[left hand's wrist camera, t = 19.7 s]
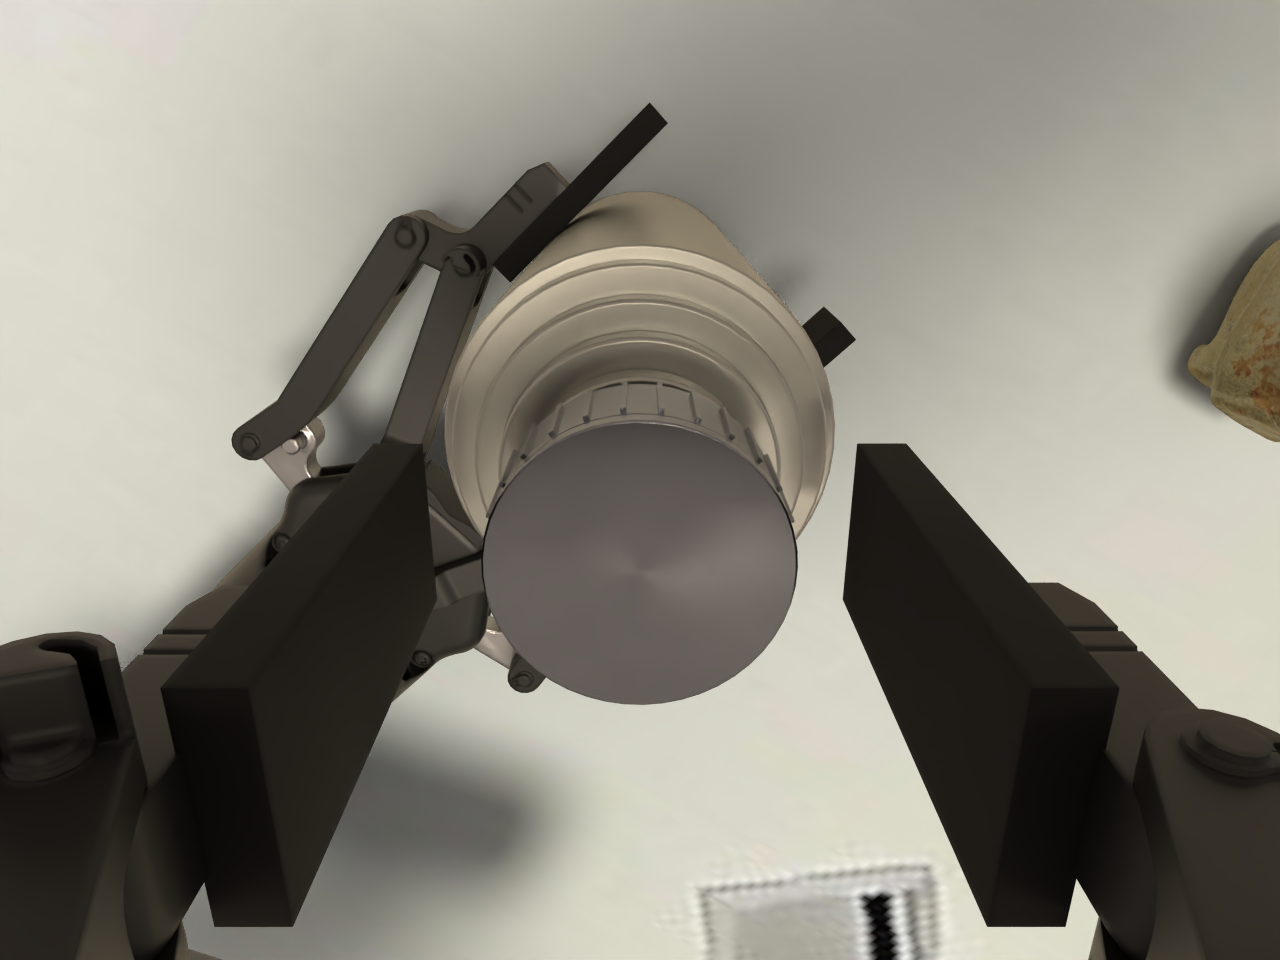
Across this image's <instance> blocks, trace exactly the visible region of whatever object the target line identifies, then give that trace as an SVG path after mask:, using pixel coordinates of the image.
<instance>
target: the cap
mask: <svg viewBox="0 0 1280 960" xmlns="http://www.w3.org/2000/svg"><path fill="white" fill-rule="evenodd" d="M486 518H488V522H487V526H486V529H485V533H484V537H483V543H482V546H481V551H482V552H481V572H482V580H483V586H484V592H485V595H486V598H487V601H488V604H489V608H490V611H491V613H492V615H493V617H494V619H495V621H496V623H497V625H498V627H499V629H500V630H501V632H502V633H503V635H504V636H505V638H506V639H507V641H508V642H509V644H510V645H511V646H512V647H513V648H514V649H515V650H516V652H517V653H518V654H519V655H520V656H521V657H522V658H523V659H524V660H525V661H526V662H527V663H528V664H530V665H531V666H532V667H533V668H534V669H535V670H537V671H538V672H539V673H541V674H542V675H544V676H545V677H547V678H548V679H550V680H551V681H553V682H555V683H557V684H559V685H561V686H562V687H564V688H566V689H568V690H571V691H573V692H576V693H578V694H581V695H584V696H586V697H590V698H594V699H598V700H602V701H606V702H613V703H620V704H636V705H647V704H660V703H667V702H672V701H677V700H682V699H685V698H689V697H692V696H695V695H698V694H701V693H703V692H706V691H708V690H710V689H712V688H715V687H717V686H719V685H721V684H722V683H724V682H726V681H727V680H729V679H731V678H732V677H734V676H735V675H737V674H738V673H739V672H741V671H742V670H743V669H745V668H746V667H747V666H749V665H750V664H751V663H752V662H753V661H754V660H755V659H756V658H757V657H758V656H759V655H760V654H761V653H762V652H763V651H764V649H765V648H766V647H767V646H768V644H769V643H770V642H771V640H772V639H773V638H774V636H775V635H776V633H777V631H778V630H779V628H780V626H781V625H782V623H783V621H784V619H785V617H786V614H787V612H788V610H789V607H790V605H791V602H792V598H793V594H794V590H795V587H796V579H797V570H798V556H797V555H798V551H797V544H796V539H795V533H794V529H793V526H792V523H794V522H795V521H794V517H793V515H792V512H791V510H790V508H789V505H788V503H787V500H786V498H785V495H784V493H783V489H782V486H781V484H780V481H779V479H778V476H777V474H776V471H775V469H774V466H773V464H772V462H771V459H770V457H769V455H768V453H767V454H765V455H764V454H763V452H762V450H761V449H760V447H759V446H758V444H757V443H756V441H755V438H754V436H753V433H752V431H751V429H750V428H749V427H748V428H746V429H745V428H744V427H743V426H742V425H741V424H740V423H739V422H738V421H737V420H735V419H734V418H733V417H732V416H731V415H729V414H728V411H727V408H726V407H724V406H722V407H721V408H719V407H718V406H716V405H715V404H713V403H711V402H710V401H708V400H705V399H703V398H701V397H699V396H697V393H696V392H695V391H692V390H691V392H690V393H689V392H685V391H682V390H679V389H675V388H671V387H665V386H663V384H662V383H659V382H657V385H645V384H631V385H627V382H622V385H620V386H613V387H609V388H604V389H600V390H596V391H593V389H590V390H588V391H587V394H585V395H582V396H580V397H578V398H576V399H574V400H572V401H570V402H568V403H566V404H564V405H562V404H561V403H560V404H558V405H557V406H556V409H555V411H554V412H552V413H551V414H549V415H548V416H547V417H546V418H545V419H544V420H543V421H541V422H540V423H539V424H538V425H535V424H533V425H532V426H531V428H530V430H529V433H528V436H527V438H526V439H525V440H524V441H523V443H522V444H521V446H520V447H519V449H518V451H516V450H515V449H514V450H513V451H512V453H511V455H510V458H509V460H508V463H507V465H506V468H505V470H504V473H503V475H502V477H501V479H500V481H499V484H498V486H497V489H496V491H495V494H494V496H493V498H492V501H491V503H490V506H489V508H488V511H487V513H486Z"/></svg>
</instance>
